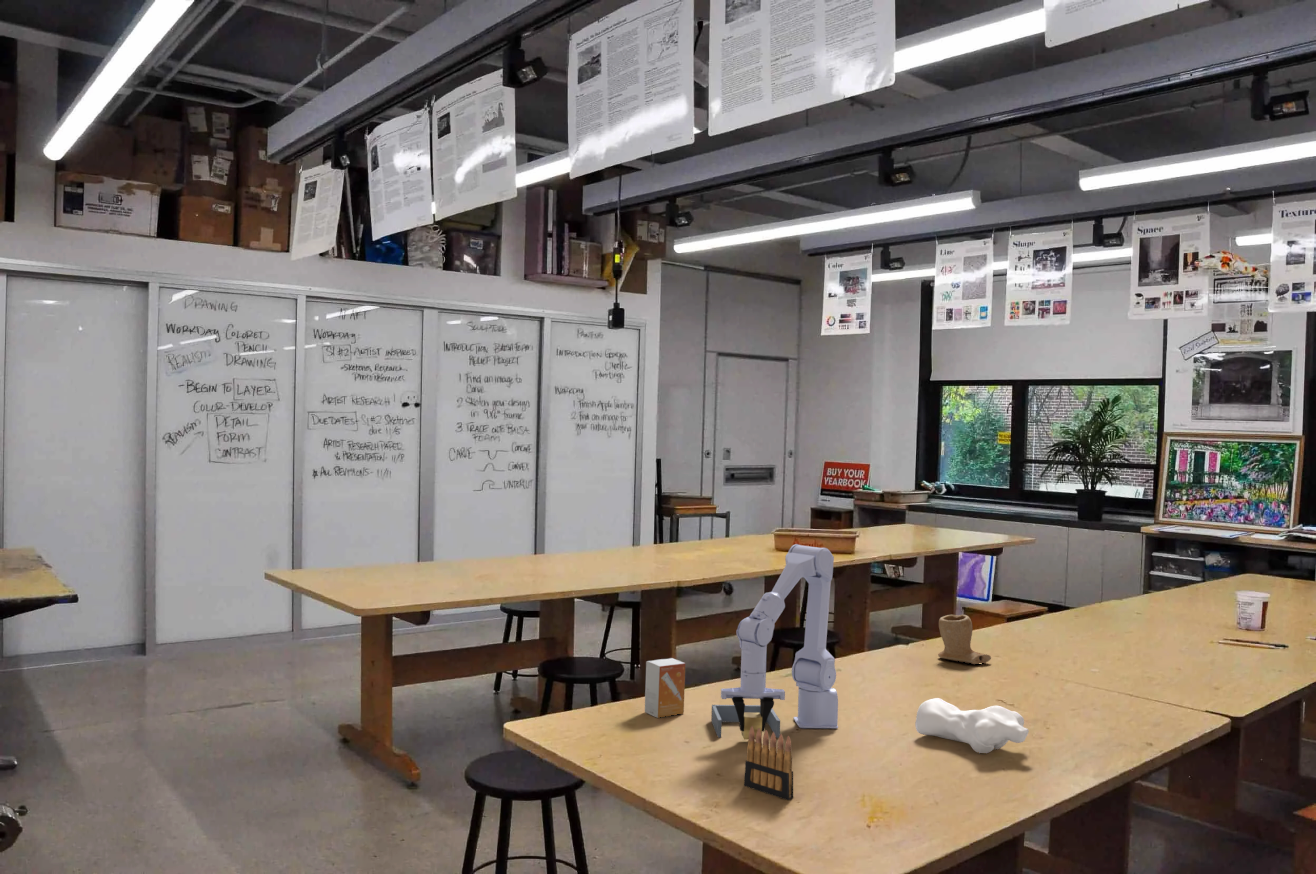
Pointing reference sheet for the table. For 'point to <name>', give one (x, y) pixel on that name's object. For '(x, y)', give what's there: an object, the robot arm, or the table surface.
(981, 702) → the table surface
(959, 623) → the tan textured boot shape
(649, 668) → the small box
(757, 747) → the ammunition clip
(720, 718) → the u-shaped frame
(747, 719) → the block
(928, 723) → the torso sculpture
